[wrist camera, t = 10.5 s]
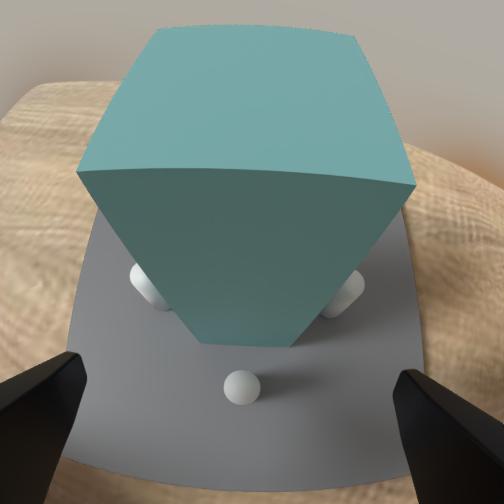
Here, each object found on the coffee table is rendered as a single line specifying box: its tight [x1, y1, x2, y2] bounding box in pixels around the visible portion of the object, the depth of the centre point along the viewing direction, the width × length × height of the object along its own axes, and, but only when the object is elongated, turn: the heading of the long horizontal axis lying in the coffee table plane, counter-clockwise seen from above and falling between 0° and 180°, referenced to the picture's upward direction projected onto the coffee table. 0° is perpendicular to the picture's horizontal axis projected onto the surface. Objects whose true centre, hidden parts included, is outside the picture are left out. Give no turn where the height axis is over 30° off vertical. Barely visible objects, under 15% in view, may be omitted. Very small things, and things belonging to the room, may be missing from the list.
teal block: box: [76, 25, 417, 347], centre depth 10 cm, size 4×4×13 cm
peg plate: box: [61, 208, 424, 492], centre depth 15 cm, size 20×20×4 cm
